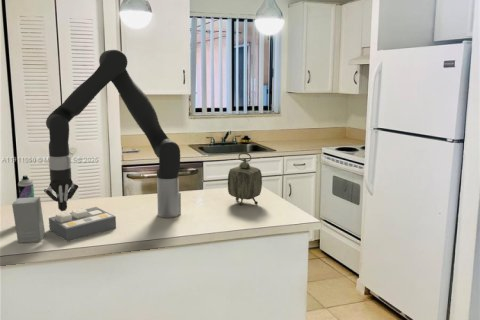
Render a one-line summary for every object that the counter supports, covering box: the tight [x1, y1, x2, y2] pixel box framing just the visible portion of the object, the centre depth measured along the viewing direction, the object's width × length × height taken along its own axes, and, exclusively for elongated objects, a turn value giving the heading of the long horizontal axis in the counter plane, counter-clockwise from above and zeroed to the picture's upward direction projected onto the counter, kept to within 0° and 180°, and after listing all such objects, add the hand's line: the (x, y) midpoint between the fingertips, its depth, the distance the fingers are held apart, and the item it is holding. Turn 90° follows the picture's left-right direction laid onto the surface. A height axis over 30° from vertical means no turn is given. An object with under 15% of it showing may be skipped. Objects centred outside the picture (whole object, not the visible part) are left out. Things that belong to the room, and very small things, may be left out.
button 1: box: [55, 211, 72, 223], centre depth 170 cm, size 4×4×3 cm
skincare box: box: [11, 196, 46, 244], centre depth 162 cm, size 8×7×16 cm
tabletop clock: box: [227, 152, 263, 206], centre depth 206 cm, size 14×9×25 cm, turn 58°
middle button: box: [71, 208, 88, 219], centre depth 175 cm, size 4×4×3 cm
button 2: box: [88, 210, 103, 215], centre depth 180 cm, size 4×4×3 cm
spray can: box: [17, 175, 35, 198], centre depth 178 cm, size 6×6×20 cm
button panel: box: [48, 206, 117, 242], centre depth 174 cm, size 20×16×5 cm
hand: (62, 210), depth 170 cm, fingers closed
